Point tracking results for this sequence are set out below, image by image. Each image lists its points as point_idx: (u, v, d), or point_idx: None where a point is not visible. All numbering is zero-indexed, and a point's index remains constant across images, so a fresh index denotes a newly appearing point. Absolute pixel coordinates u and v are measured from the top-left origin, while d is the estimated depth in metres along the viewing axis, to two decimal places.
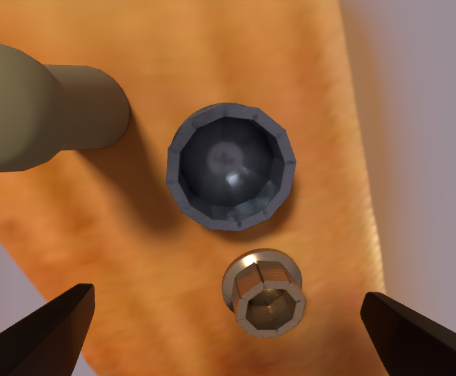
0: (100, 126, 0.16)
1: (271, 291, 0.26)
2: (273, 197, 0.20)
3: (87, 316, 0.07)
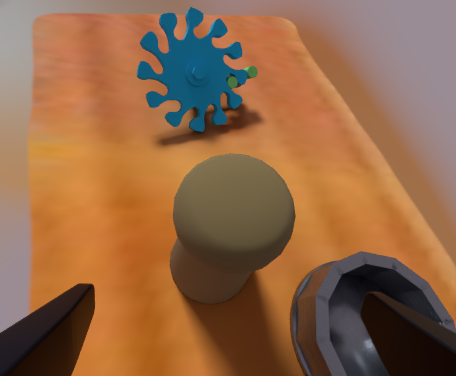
0: None
1: None
2: None
3: (87, 316, 0.07)
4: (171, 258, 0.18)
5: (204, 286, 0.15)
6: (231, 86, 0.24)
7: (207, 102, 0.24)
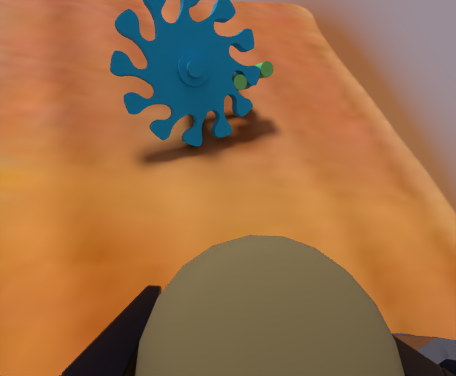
0: None
1: None
2: None
3: None
4: None
5: None
6: (238, 87, 0.18)
7: (206, 108, 0.18)
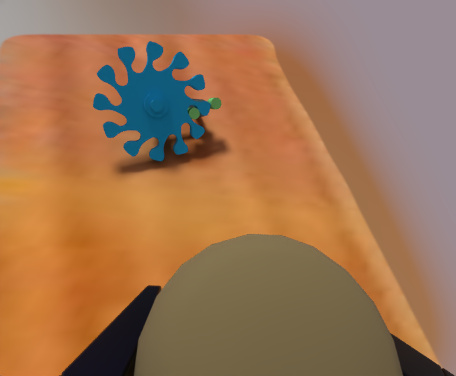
0: None
1: None
2: None
3: None
4: None
5: None
6: (193, 117, 0.24)
7: (167, 133, 0.24)
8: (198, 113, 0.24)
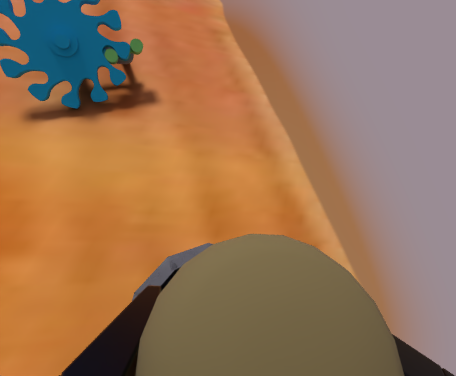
0: None
1: None
2: None
3: None
4: None
5: None
6: (110, 60, 0.22)
7: (80, 76, 0.22)
8: (116, 55, 0.22)
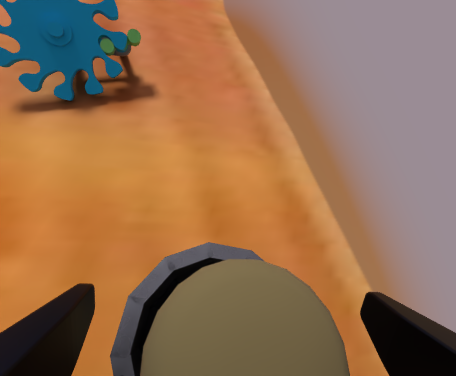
0: None
1: None
2: None
3: (87, 316, 0.07)
4: None
5: None
6: (105, 50, 0.21)
7: (74, 66, 0.21)
8: (112, 46, 0.21)
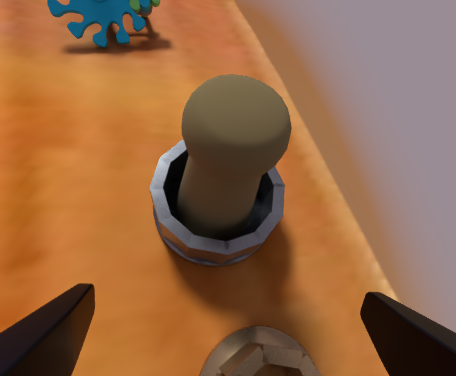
0: None
1: None
2: (265, 219, 0.18)
3: (87, 316, 0.07)
4: (177, 200, 0.19)
5: (209, 213, 0.16)
6: (133, 7, 0.27)
7: (108, 18, 0.26)
8: (138, 4, 0.27)
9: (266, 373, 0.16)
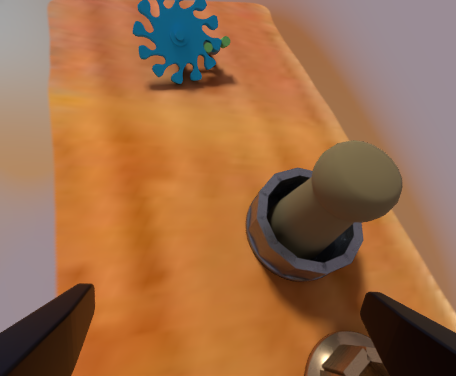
0: None
1: None
2: (349, 243, 0.21)
3: (87, 316, 0.07)
4: (270, 225, 0.23)
5: (312, 241, 0.20)
6: (207, 50, 0.31)
7: (186, 60, 0.30)
8: (211, 47, 0.31)
9: None
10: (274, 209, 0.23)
